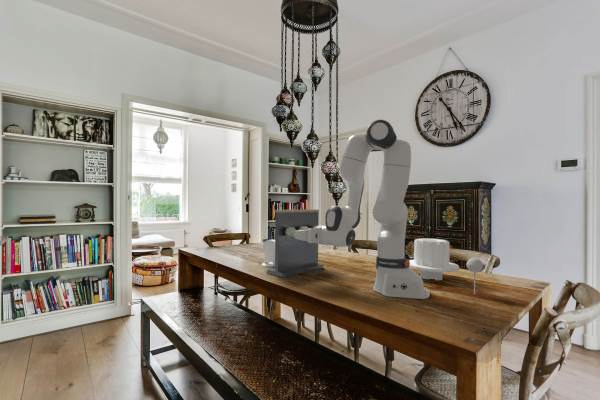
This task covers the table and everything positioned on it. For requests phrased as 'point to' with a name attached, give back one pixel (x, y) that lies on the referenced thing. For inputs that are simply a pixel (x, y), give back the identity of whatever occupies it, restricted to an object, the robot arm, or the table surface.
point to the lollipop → (474, 267)
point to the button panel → (294, 244)
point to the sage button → (290, 231)
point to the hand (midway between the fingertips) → (300, 232)
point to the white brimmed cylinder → (432, 258)
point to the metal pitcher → (269, 252)
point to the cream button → (303, 228)
